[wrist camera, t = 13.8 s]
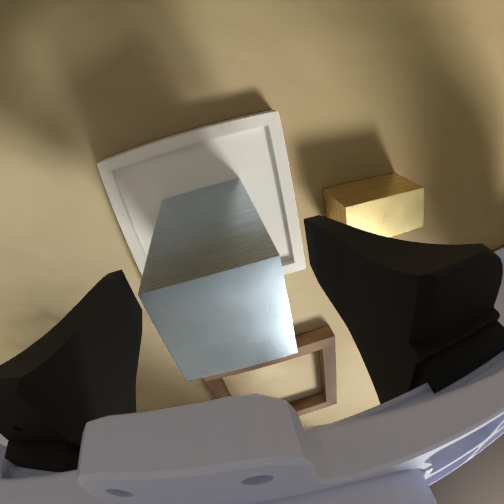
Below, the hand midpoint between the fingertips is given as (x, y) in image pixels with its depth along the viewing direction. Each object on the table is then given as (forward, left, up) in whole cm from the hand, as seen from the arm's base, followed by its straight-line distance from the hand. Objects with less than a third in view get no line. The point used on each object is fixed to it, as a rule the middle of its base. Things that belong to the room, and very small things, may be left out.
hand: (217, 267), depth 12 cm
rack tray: (0, 0, -6) cm, 6 cm away
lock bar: (-9, +2, -6) cm, 11 cm away
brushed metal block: (0, 0, -5) cm, 5 cm away
